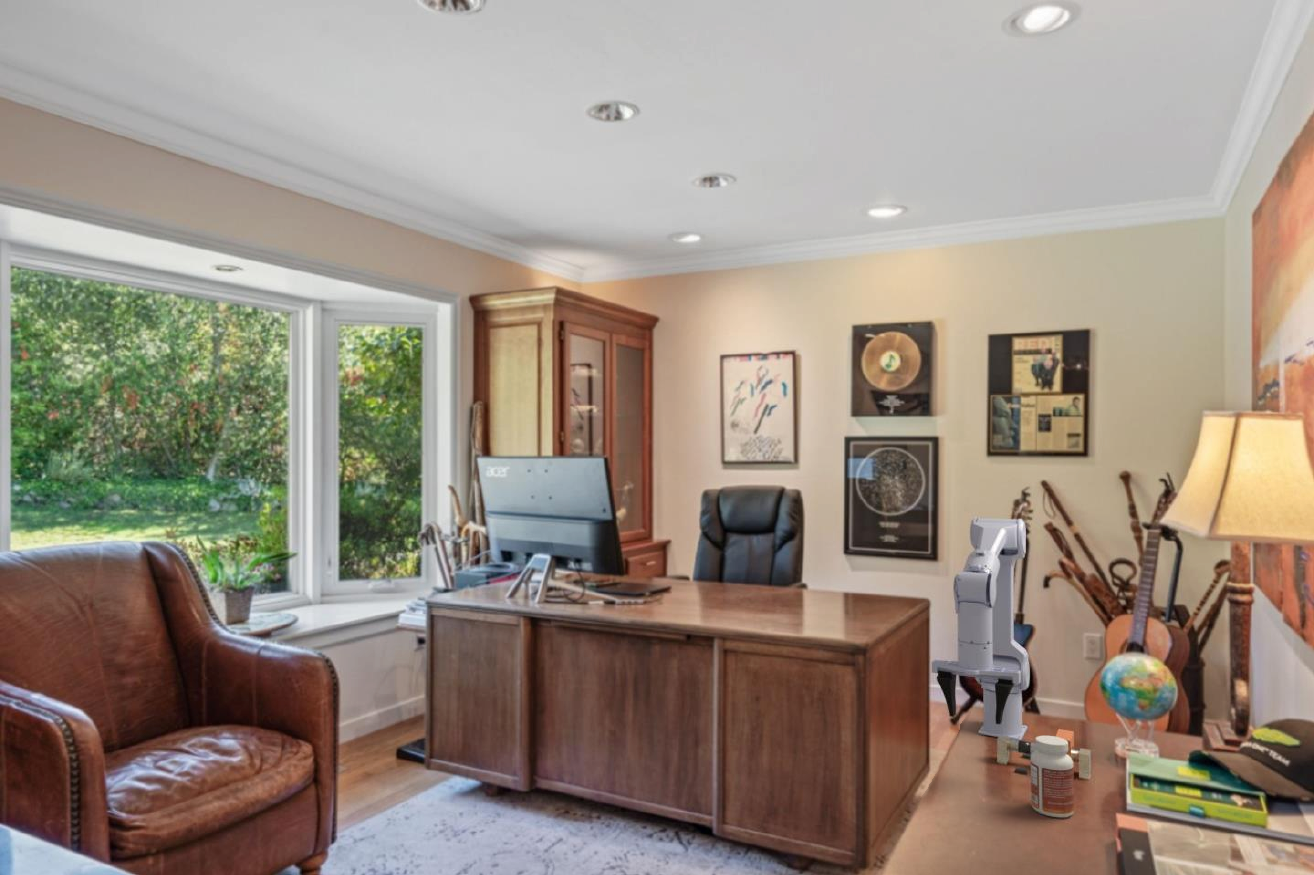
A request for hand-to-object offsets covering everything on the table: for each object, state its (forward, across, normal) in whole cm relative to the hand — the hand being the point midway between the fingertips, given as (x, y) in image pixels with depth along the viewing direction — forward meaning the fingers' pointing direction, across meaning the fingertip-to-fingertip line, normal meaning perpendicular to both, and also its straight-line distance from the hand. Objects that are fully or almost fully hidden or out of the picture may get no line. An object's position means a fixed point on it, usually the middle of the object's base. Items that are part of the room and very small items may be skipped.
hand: (975, 718), depth 145 cm
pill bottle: (+10, +13, -8) cm, 18 cm away
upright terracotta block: (+10, +13, +11) cm, 20 cm away
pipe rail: (+10, +10, +11) cm, 18 cm away
